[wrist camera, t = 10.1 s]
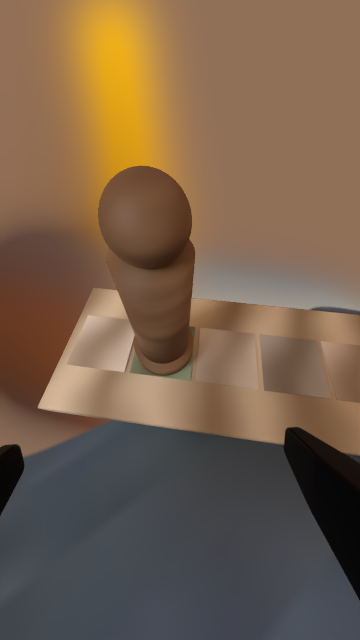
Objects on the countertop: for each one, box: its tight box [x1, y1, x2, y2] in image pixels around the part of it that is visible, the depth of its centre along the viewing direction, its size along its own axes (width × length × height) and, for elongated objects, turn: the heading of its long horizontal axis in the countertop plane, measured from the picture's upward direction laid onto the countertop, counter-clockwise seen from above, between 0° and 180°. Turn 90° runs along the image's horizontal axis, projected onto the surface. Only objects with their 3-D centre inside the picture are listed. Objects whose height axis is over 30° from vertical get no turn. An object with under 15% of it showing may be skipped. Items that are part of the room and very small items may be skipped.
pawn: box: [98, 166, 195, 376], centre depth 11 cm, size 4×4×12 cm
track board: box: [38, 288, 360, 456], centre depth 17 cm, size 26×11×1 cm, turn 83°
